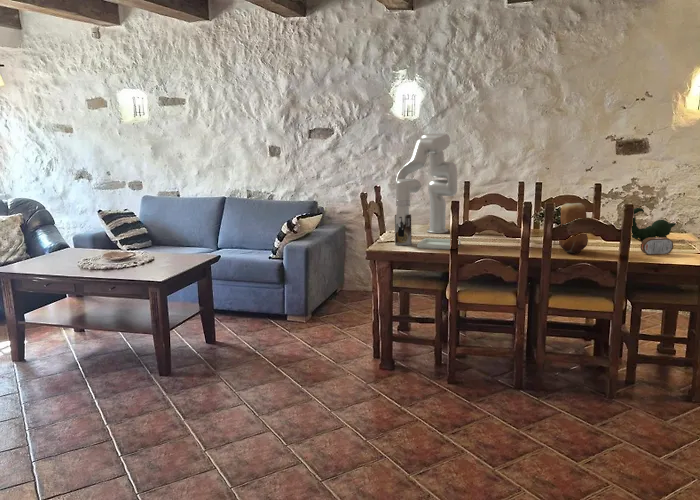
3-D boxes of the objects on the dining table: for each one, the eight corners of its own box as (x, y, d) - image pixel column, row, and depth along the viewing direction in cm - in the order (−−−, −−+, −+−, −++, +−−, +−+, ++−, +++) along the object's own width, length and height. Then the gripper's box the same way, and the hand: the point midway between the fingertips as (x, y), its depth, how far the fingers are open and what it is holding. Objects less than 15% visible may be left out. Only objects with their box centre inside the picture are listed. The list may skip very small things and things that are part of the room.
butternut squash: (566, 248, 293) (569, 200, 288) (592, 252, 283) (595, 202, 278) (552, 253, 284) (555, 203, 279) (578, 257, 274) (581, 205, 269)
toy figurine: (631, 245, 305) (680, 240, 302) (630, 210, 301) (680, 205, 298) (624, 241, 314) (672, 237, 311) (623, 207, 310) (672, 202, 307)
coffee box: (411, 242, 317) (411, 214, 314) (411, 245, 311) (411, 216, 307) (395, 242, 318) (394, 214, 315) (394, 245, 312) (394, 216, 308)
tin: (669, 253, 277) (671, 236, 275) (673, 254, 274) (675, 237, 272) (639, 254, 277) (640, 237, 275) (642, 255, 274) (644, 238, 272)
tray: (424, 242, 318) (424, 238, 318) (460, 243, 311) (460, 239, 311) (417, 247, 304) (417, 243, 303) (454, 249, 297) (454, 245, 296)
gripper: (400, 201, 319) (401, 232, 323) (391, 205, 303) (392, 237, 307) (413, 201, 316) (413, 232, 320) (405, 205, 300) (405, 238, 304)
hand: (403, 235), depth 313 cm, fingers closed on coffee box, 7 cm apart
